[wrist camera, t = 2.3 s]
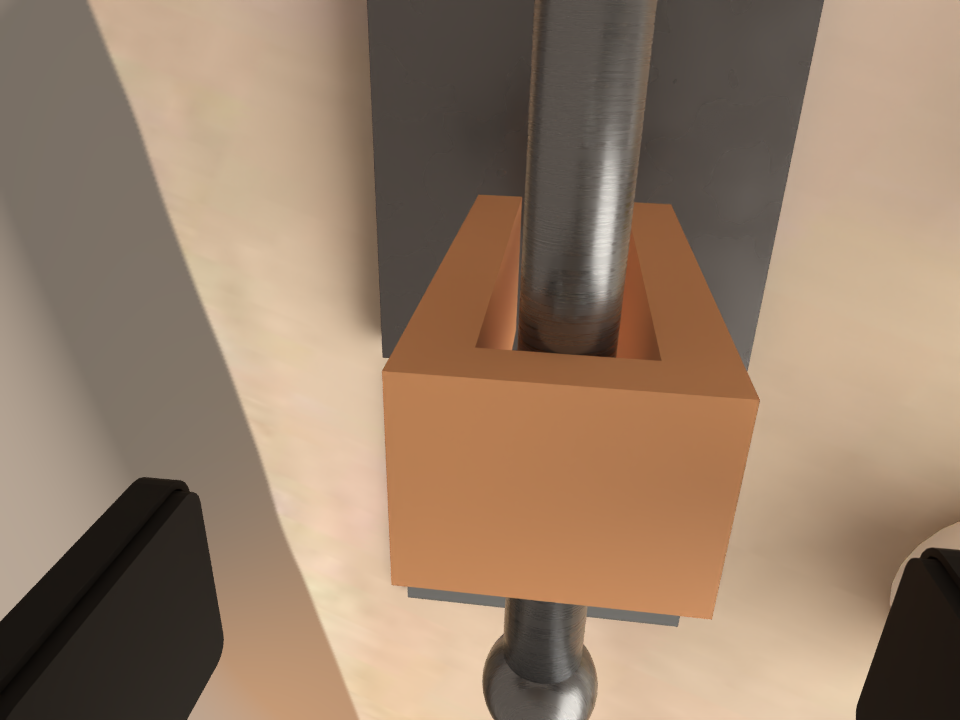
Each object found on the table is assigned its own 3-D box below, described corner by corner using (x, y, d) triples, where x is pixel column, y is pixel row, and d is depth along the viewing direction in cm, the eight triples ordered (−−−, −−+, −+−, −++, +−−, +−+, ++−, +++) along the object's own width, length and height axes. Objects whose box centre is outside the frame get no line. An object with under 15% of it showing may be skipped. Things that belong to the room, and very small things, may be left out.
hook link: (478, 194, 20) (382, 371, 10) (670, 204, 19) (760, 400, 10) (475, 327, 22) (391, 584, 12) (652, 339, 21) (711, 619, 11)
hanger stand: (367, -319, 21) (-230, -1224, 6) (875, -332, 19) (1986, -1608, 4) (392, 367, 31) (203, 729, 15) (731, 393, 29) (897, 821, 14)
